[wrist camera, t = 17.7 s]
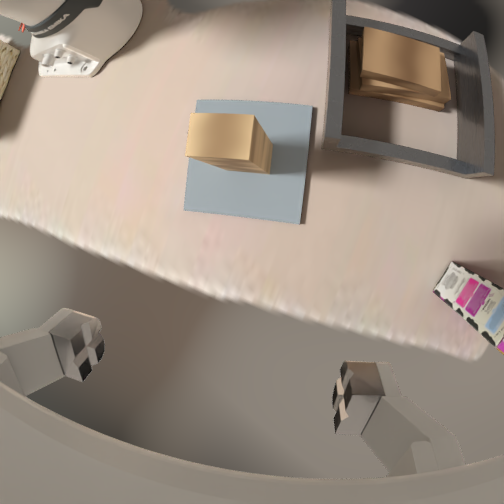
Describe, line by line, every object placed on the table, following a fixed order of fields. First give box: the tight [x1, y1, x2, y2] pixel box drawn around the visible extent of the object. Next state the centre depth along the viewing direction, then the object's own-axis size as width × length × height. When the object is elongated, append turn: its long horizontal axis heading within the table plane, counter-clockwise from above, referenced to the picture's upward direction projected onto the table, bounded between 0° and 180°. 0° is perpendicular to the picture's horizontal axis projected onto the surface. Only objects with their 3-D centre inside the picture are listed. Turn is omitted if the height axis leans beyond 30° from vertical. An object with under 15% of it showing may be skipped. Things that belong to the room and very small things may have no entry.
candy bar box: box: [433, 261, 504, 355], centre depth 25 cm, size 11×5×16 cm, turn 60°
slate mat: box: [184, 100, 312, 224], centre depth 35 cm, size 14×14×1 cm
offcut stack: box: [348, 27, 451, 112], centre depth 28 cm, size 12×7×6 cm, turn 85°
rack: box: [322, 0, 495, 178], centre depth 27 cm, size 19×18×7 cm
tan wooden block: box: [185, 113, 273, 175], centre depth 28 cm, size 5×4×13 cm
